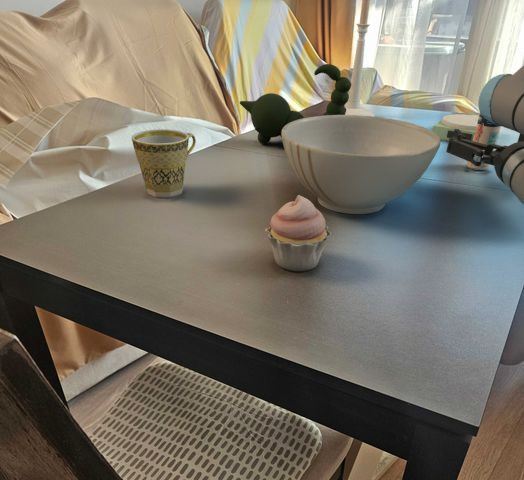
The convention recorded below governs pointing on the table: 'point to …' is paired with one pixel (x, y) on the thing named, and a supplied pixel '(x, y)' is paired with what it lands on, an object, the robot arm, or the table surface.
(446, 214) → the table surface
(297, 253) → the cupcake
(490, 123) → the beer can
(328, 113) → the toy figurine
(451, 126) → the kitchen scale
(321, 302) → the table surface
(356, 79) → the candlestick
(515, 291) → the table surface
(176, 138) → the ceramic cup
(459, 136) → the robot arm
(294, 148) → the decorative bowl
